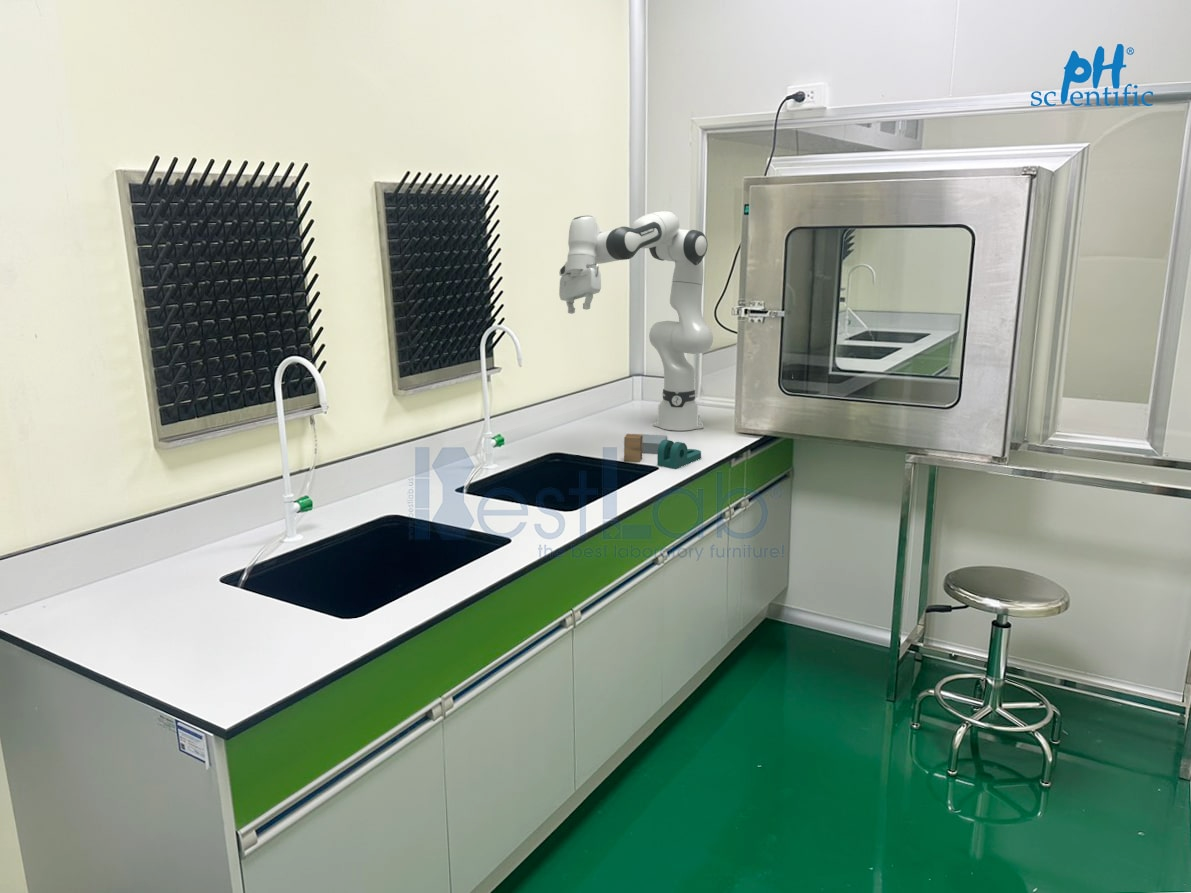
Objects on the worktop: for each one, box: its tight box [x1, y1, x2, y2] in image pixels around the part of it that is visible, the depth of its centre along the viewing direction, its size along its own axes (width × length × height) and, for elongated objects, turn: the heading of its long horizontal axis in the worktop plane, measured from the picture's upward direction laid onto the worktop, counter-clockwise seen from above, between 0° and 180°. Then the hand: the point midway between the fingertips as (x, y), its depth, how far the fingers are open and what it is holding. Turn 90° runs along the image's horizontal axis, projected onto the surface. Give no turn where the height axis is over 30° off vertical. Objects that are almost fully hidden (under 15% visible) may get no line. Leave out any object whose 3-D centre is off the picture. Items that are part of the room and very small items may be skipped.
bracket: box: [656, 439, 702, 470], centre depth 275 cm, size 18×7×8 cm, turn 143°
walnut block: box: [623, 433, 643, 463], centre depth 276 cm, size 5×5×8 cm
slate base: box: [642, 433, 668, 455], centre depth 291 cm, size 12×12×4 cm
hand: (578, 311), depth 270 cm, fingers open, 8 cm apart
